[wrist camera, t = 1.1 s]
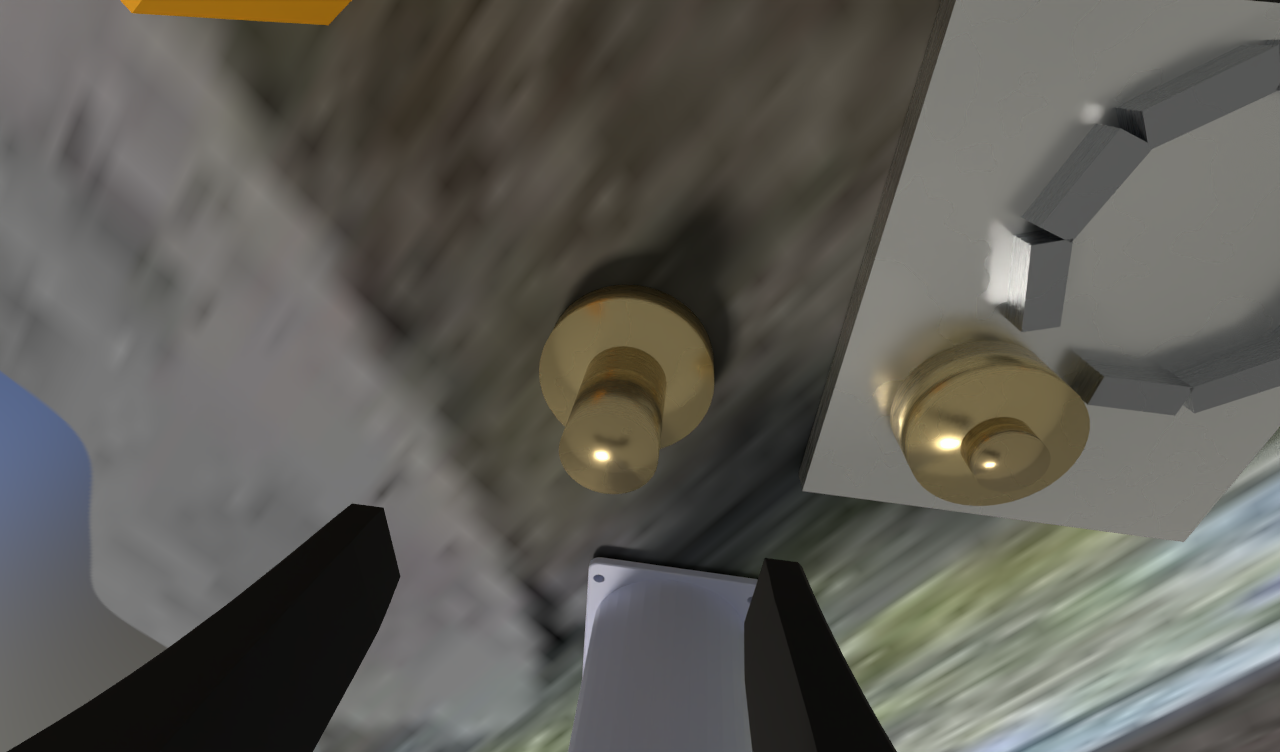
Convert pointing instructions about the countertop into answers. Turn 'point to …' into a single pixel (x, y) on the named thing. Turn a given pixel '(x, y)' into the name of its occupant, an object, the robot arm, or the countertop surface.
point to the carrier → (1069, 271)
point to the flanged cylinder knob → (625, 383)
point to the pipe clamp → (245, 9)
